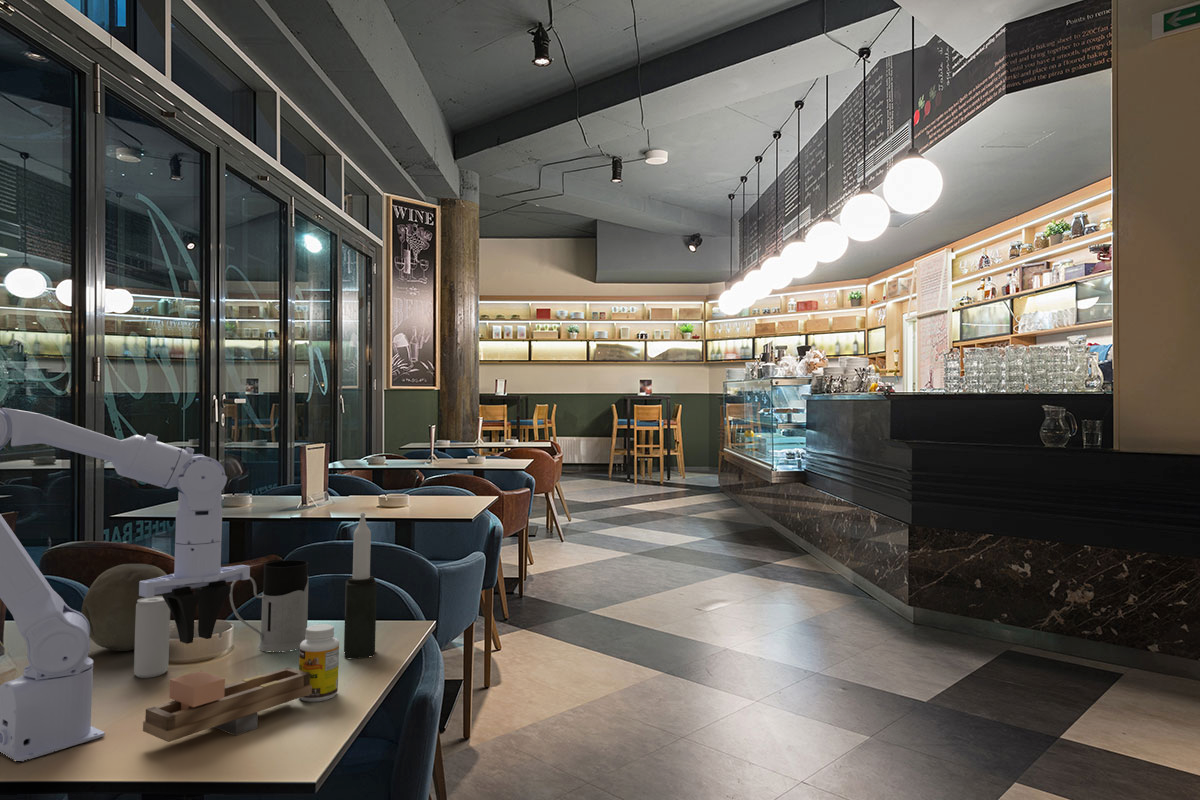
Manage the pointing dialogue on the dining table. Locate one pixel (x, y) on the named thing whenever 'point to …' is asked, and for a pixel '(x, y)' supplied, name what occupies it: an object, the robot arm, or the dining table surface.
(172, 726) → the beam
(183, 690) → the rider
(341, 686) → the dining table surface
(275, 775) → the dining table surface
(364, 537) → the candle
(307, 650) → the supplement bottle
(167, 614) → the beverage can
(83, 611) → the cantaloupe
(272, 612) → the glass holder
